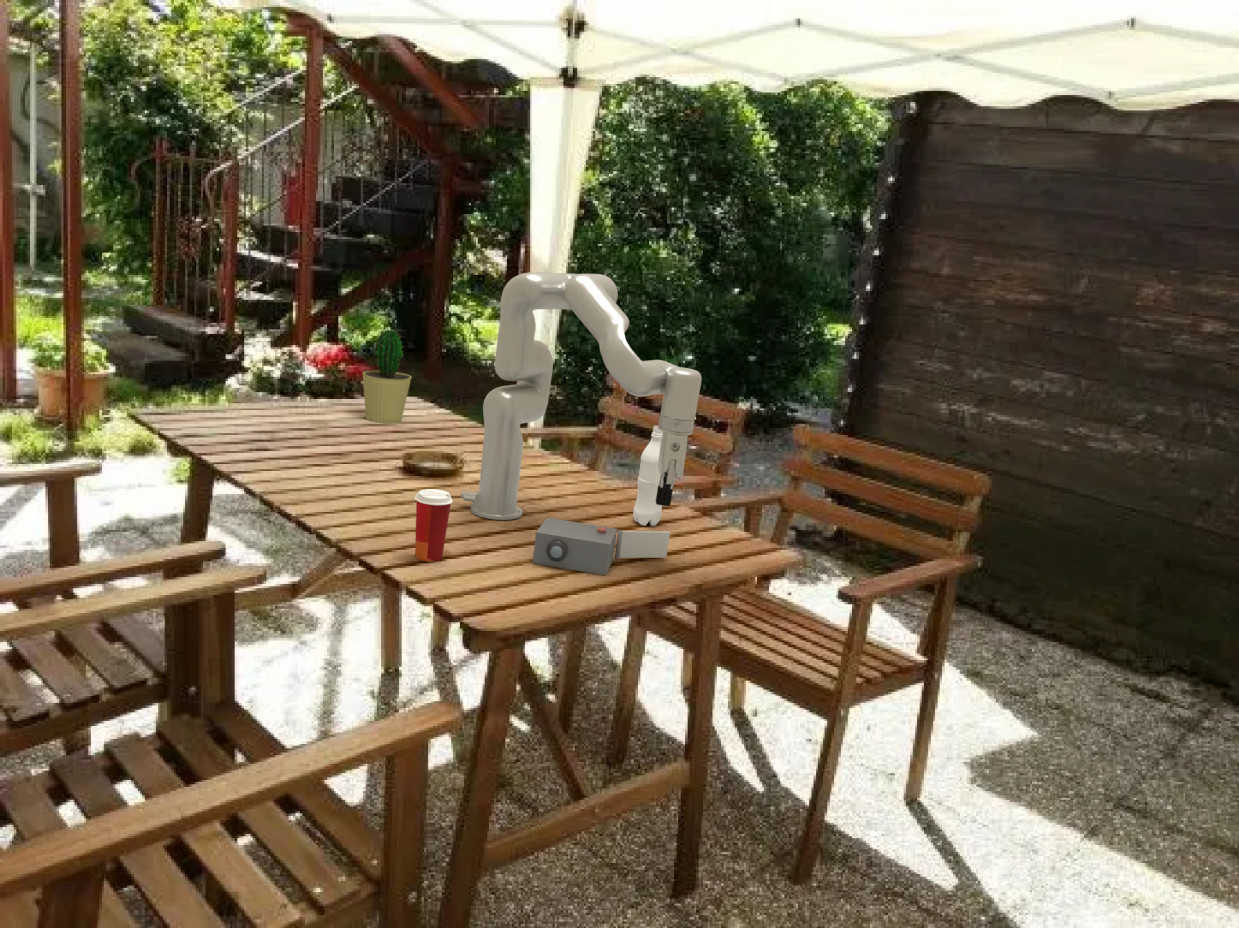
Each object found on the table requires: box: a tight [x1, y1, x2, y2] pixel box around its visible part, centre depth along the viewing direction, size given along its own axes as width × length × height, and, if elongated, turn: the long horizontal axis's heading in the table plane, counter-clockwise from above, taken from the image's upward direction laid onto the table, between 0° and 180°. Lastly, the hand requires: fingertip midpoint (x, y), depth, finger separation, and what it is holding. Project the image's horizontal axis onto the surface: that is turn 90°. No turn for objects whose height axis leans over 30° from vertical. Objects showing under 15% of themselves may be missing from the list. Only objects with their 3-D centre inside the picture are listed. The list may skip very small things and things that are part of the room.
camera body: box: [532, 517, 618, 576], centre depth 233 cm, size 16×13×8 cm
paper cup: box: [414, 488, 453, 563], centre depth 223 cm, size 8×8×14 cm
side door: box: [614, 529, 671, 560], centre depth 241 cm, size 2×12×6 cm, turn 111°
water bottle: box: [632, 425, 663, 527], centre depth 267 cm, size 7×7×25 cm
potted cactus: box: [362, 329, 413, 424], centre depth 343 cm, size 15×15×30 cm
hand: (662, 504), depth 237 cm, fingers closed
